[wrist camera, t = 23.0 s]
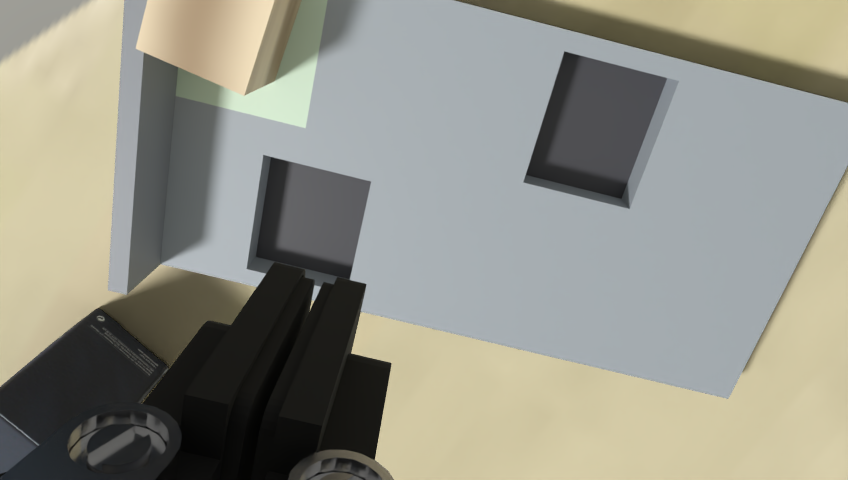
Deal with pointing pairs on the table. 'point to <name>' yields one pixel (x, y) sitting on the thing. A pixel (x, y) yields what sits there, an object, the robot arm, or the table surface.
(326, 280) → the trap deck
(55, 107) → the table surface
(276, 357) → the robot arm
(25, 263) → the table surface
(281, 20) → the beech block
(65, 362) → the small box
